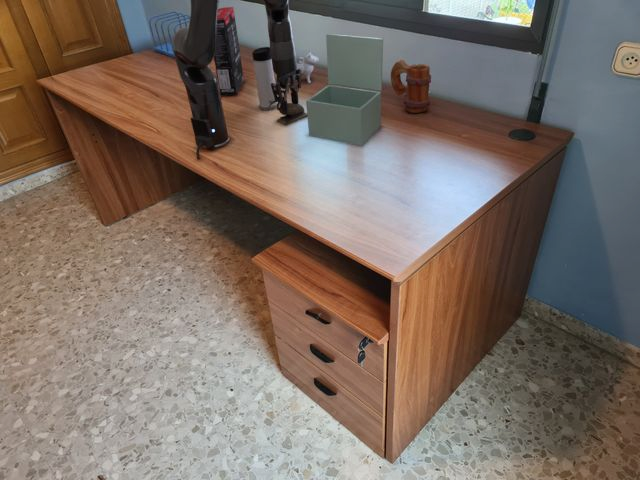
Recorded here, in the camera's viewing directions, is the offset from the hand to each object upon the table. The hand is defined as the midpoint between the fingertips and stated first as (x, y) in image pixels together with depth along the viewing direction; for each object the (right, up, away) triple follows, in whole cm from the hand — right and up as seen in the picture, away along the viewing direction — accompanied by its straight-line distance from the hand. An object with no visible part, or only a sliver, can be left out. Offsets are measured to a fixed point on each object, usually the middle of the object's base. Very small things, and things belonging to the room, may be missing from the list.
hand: (290, 107), depth 154 cm
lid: (+20, +10, -13) cm, 25 cm away
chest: (+17, -9, -6) cm, 21 cm away
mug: (+40, +1, +5) cm, 40 cm away
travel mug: (-8, +4, +14) cm, 16 cm away
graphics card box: (-24, +16, +31) cm, 42 cm away
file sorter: (-56, +48, +76) cm, 106 cm away
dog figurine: (+3, +19, +32) cm, 37 cm away
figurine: (-1, -4, +3) cm, 5 cm away
